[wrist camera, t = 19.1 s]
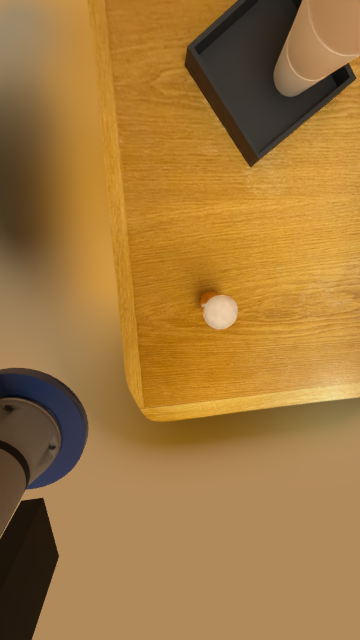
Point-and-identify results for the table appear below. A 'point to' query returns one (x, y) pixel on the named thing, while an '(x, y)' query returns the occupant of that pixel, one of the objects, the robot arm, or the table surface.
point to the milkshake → (218, 310)
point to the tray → (255, 75)
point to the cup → (318, 44)
